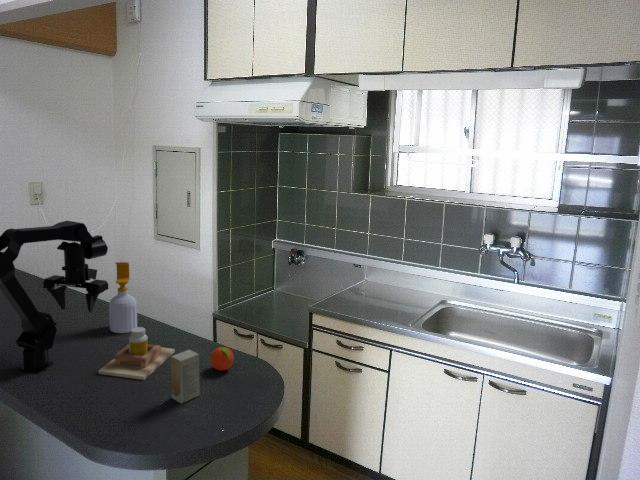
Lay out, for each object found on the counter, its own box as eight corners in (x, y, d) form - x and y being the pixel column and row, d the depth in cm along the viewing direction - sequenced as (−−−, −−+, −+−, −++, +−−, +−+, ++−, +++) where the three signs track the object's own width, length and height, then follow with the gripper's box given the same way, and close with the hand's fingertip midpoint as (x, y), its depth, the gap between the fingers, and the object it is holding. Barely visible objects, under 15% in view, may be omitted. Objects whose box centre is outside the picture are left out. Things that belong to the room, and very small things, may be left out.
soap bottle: (108, 334, 178) (106, 264, 173) (111, 324, 187) (109, 258, 182) (136, 333, 181) (135, 264, 176) (137, 323, 189) (136, 257, 184)
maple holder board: (143, 379, 148) (143, 366, 147) (98, 373, 150) (98, 360, 149) (174, 351, 168) (174, 340, 167) (133, 346, 170) (133, 335, 169)
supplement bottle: (126, 357, 159) (126, 328, 157) (144, 354, 162) (143, 324, 161) (133, 364, 155) (132, 334, 153) (150, 360, 158) (150, 330, 156)
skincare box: (190, 390, 144) (190, 348, 141) (200, 395, 141) (200, 353, 139) (170, 398, 139) (169, 355, 137) (180, 404, 136) (180, 360, 134)
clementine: (240, 371, 156) (240, 349, 155) (220, 378, 152) (220, 355, 150) (225, 362, 162) (225, 340, 161) (205, 368, 157) (205, 346, 156)
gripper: (117, 259, 166) (118, 305, 169) (63, 253, 169) (66, 300, 172) (97, 267, 155) (98, 317, 158) (40, 261, 158) (43, 310, 161)
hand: (76, 310), depth 163 cm, fingers open, 9 cm apart
